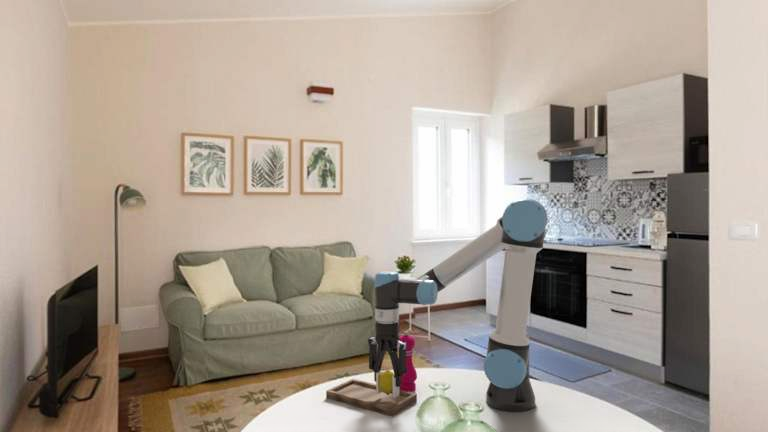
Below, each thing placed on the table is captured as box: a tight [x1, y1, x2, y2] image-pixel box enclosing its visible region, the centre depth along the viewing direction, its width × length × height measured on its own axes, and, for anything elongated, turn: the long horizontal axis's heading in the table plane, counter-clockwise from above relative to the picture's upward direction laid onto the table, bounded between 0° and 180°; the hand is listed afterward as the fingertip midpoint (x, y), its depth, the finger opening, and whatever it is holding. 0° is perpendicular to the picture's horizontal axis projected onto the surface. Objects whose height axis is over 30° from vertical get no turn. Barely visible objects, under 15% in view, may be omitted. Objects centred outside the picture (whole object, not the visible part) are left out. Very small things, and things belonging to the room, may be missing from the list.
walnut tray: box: [325, 378, 418, 417], centre depth 165 cm, size 26×14×2 cm, turn 55°
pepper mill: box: [398, 330, 418, 393], centre depth 175 cm, size 7×7×20 cm
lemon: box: [379, 369, 394, 395], centre depth 161 cm, size 6×6×8 cm
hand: (387, 394), depth 161 cm, fingers closed on lemon, 5 cm apart
